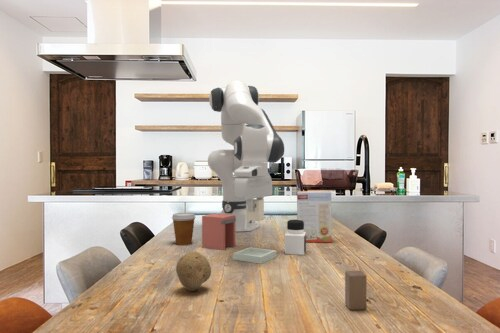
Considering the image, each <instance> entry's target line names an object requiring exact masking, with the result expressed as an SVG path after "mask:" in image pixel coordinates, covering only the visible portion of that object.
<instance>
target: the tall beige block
mask: <svg viewBox="0 0 500 333" xmlns="http://www.w3.org/2000/svg"><path fill="white" fill-rule="evenodd" d="M253 206H254V207H255V211H254V212H248V206H247V203H246V220H250V221H255V222H261V221H264V220H265V214H264V213H265V200H259V199H256V198H254V199H253Z"/></svg>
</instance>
